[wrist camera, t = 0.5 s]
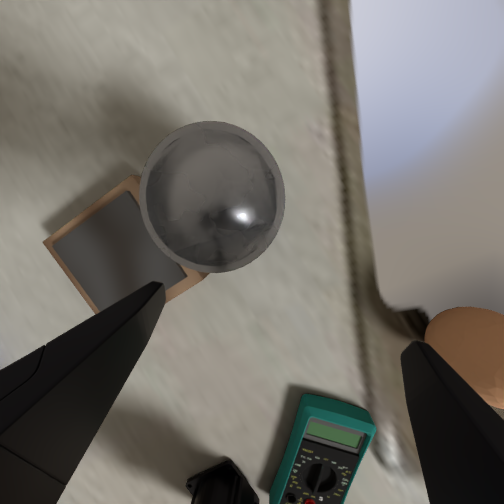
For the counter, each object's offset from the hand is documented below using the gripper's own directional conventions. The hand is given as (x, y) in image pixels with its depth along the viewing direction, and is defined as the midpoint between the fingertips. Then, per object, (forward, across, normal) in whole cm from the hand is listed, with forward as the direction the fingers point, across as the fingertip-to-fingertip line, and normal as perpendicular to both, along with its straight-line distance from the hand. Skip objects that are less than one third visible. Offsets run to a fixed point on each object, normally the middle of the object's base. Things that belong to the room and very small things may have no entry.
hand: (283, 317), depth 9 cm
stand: (+12, +14, +10) cm, 21 cm away
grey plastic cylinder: (+15, +4, +4) cm, 16 cm away
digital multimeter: (+4, -9, +26) cm, 28 cm away
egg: (+12, -17, +10) cm, 23 cm away
